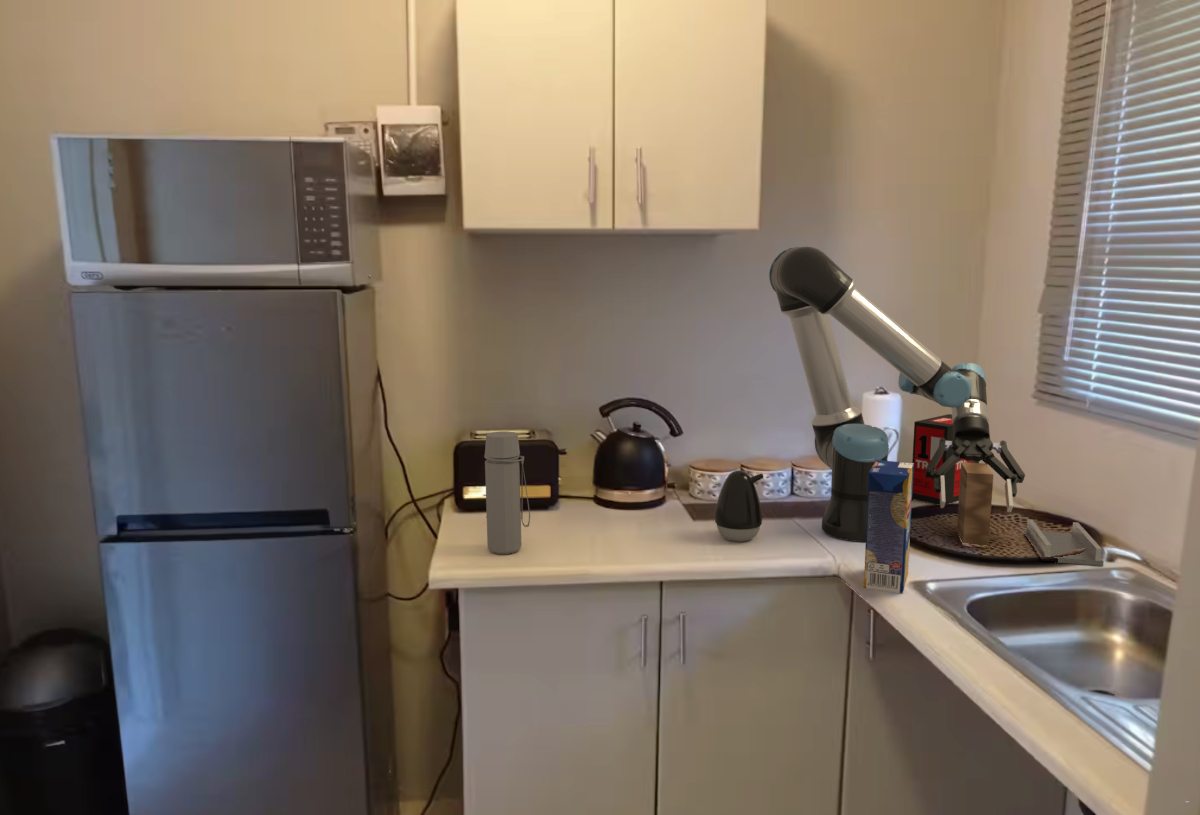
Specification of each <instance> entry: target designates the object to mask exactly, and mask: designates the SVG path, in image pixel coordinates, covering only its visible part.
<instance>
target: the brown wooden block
mask: <svg viewBox="0 0 1200 815" xmlns="http://www.w3.org/2000/svg"><path fill="white" fill-rule="evenodd" d="M993 486H994V473H993V471H992V470H991V469H990V466H989V465H988V464H986V463H984V462H983V463H980V462H979V463H963V462H961V474H960V490H959V501H958V509H957V525H956V533H957V532H958V534H959V536H960V538H961V540H962V542H963V543H969V544H978V545H987V546H990V545H989V544H990V533H991V532H990V530H991V517H992V516H991V513H992V502H993V501H992V500H993ZM958 534H957V535H958ZM959 536H958V537H959Z"/></svg>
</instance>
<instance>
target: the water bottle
mask: <svg viewBox="0 0 1200 815" xmlns="http://www.w3.org/2000/svg"><path fill="white" fill-rule="evenodd" d="M519 443H520V442H519V435H518V433H517V432H516V431H507V430H506V431H493V432H488V433H487V434H486V435H485V444H484V445H485V448H484V449H485V450H484V455H483V457H484V458H485V459H486V460H484V475H485V476H484V478H485V501H486V502H485V504H486V505H485V506H486V507H485V508H486V510H485V511H486V540H487V542H486V543H487V549H488V550H489V551H490V552H491V553H492V552H493V553H492V554H495V553H497V554H496V555H511V554H510V553H512V554H514V553H516V552H519V551H520V550H521V547H522V526H523V527H524V528H526V527H527V528H528V527H529V526H530V523H531V521H530V520H531V511H530V510H531V509H530V504H529V498H528V490H527V481H526V477H525V474H524V473H525V469H524V462H525V456H524V455H520V454H521V451H520V444H519ZM519 458H520V459H519ZM520 464H521V470H520ZM520 471H521V473H520ZM523 478H524V479H523ZM523 482H524V483H523ZM523 484H524V486H525V494H526V501H527V508H528V522H527V524H525V523H524V521H523V518H524V517H523V513H524V512H523V510H524V509H523V502H524V501H523V496H524V495H523Z"/></svg>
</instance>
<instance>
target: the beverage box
mask: <svg viewBox="0 0 1200 815" xmlns="http://www.w3.org/2000/svg"><path fill="white" fill-rule="evenodd" d="M913 469H914V463H912V462H905V461H895V460H893V461H891V460H887V461H882V460H876V461H875V463H874V464H873V466H872V468H871V470H870V471H869V480H868V503H867V525H866V542H865V551H864V572H863V573H864V574H863V589H868V590H874V591H883V592H889V593H896V594H903V593H904V590H905V586H906V584H907V579H908V576H909V561H910V560H909V559H910V544H911V543H910V540H911V539H910V538H911V524H912V523H911V522H912V503H913V499H912V487H913Z"/></svg>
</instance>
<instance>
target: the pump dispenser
mask: <svg viewBox="0 0 1200 815" xmlns="http://www.w3.org/2000/svg"><path fill="white" fill-rule="evenodd" d="M761 479H764V474H763V473H758V474H756V475H753V476H750V474H749V473H748V472H746V471H744V470H734V471H732V472H730V473H729V474H728V475H727V477H726V479H725V480H724V482H723V484H722V486H721V489H720V492H719V495H718V497H717V503H716V505H715V506H716V508H715V514H714V523H715V524H716V527H717V531H718V533H719V534H720V535H721V536H722V537H723V538H725V539H726V540H728V541H731V542H739V543H741V542H743V543H744V542H748V541H750V540H752V539H753V538H755V537H756V536H757V535H758V533H759V531H760V528H761V526H762V525H763V514H762V506H761V505H762V504H761V501H760V497H759V496H760V495H759V493H758V490H757V487H756V485H755V483H756V482H758V481H760V480H761Z"/></svg>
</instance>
